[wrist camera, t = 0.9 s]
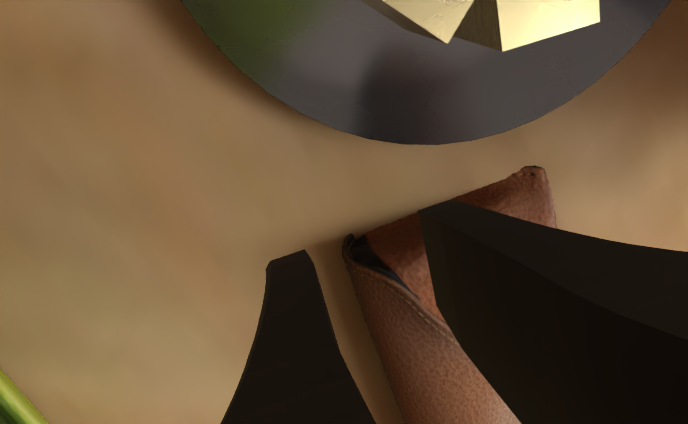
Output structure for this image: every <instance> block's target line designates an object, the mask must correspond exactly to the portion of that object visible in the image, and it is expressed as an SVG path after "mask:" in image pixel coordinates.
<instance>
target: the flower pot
mask: <svg viewBox="0 0 688 424" xmlns="http://www.w3.org/2000/svg"><path fill="white" fill-rule="evenodd" d="M0 424H49V423H48V422H47V420H46V419H45V418H44V417H43V416H42V415H41V414H40V412H39V411H38V410H37V409H36V408H35V407H34V406H33V405H32V403H31V402H30V401H29V400H28V399H27V398H26V397H25V396H24V394H23V393H22V392H21V391H20V390H19V389H18V388H17V387H16V385H15V384H14V383H13V382H12V381H11V380H10V379H9V378H8V376H7V375H6V374H5V373H4V372H3V371H2V370H1V369H0Z"/></svg>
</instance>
